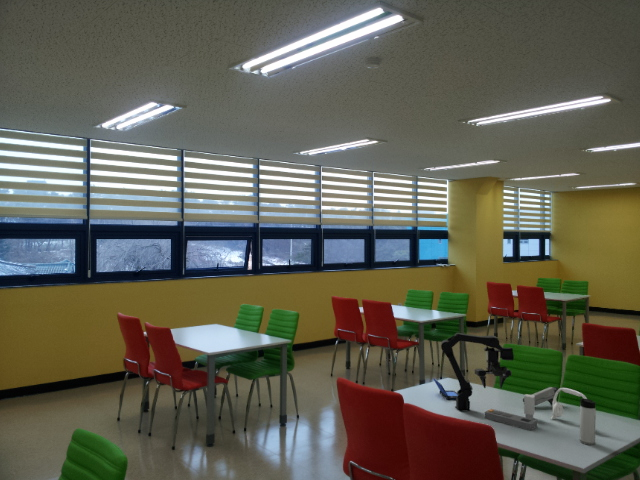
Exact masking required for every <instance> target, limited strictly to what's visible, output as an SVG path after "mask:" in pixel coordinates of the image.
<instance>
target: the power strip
mask: <svg viewBox="0 0 640 480" xmlns="http://www.w3.org/2000/svg"><path fill="white" fill-rule="evenodd" d="M484 419H487V420H491V421H494V422H499V423H502V424H506V425H509V426H512V427H515V428H516V427H517V428H521V429H524V430H527V431H528V430H529V431H531V430H532V431H533V429H536V428H537V426H538V419H537V420H536V419H534V418H533V419H530V418H526V417H525V416H521V415H518V414H514V413H510V412H505V411H502V410H497V409H494V408H489V409H488V410H486V411H484Z"/></svg>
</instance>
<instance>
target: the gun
mask: <svg viewBox="0 0 640 480" xmlns="http://www.w3.org/2000/svg"><path fill="white" fill-rule="evenodd" d="M558 389H559V388H558V387H557V386H554V387H552V386H548V387H547V388H545V389H544V388H543V390H539V391H537V392H534V393H533V394H531V395H535V407H536V406H538V405H541V404H543V403H545V402H548V403H549V404H550V405H552V402H553V399H554V395H555V393H556V391H557V390H558ZM559 393H560V392H559ZM559 393H558V395H559ZM522 402H523V403H524V397H523V399H522Z"/></svg>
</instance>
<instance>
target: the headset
mask: <svg viewBox="0 0 640 480" xmlns="http://www.w3.org/2000/svg"><path fill="white" fill-rule="evenodd" d="M561 391H562V392H563V393H567V394H570V395H574V396H576V397H582V398H583V399H588V398H587V396H586V395H585V394H583V393H582V392H581V391H580V392H579V391H577V390H575V389H571V388H567V387H560V388H558V390H557V391H556V393H555V395H554V398H553V402H552V416H551V417H550V421H551V420H552V421H553V420H555V419H556V418H561V417H562V416H563V414H564V406H563V405H562V403H560V402H558V401H557V397H558V396H559V394H558V393H560V392H561Z"/></svg>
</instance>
